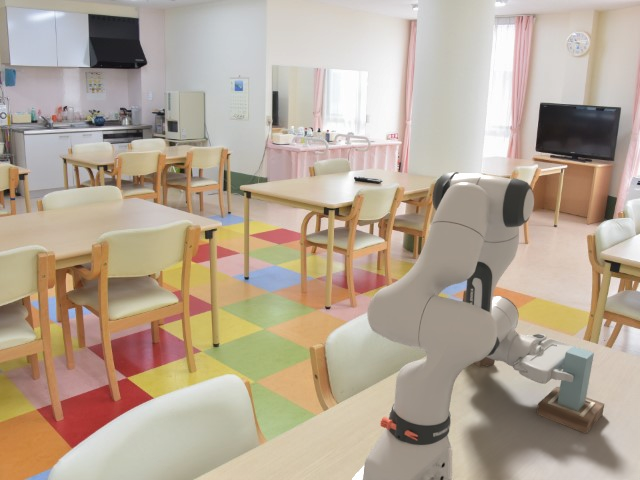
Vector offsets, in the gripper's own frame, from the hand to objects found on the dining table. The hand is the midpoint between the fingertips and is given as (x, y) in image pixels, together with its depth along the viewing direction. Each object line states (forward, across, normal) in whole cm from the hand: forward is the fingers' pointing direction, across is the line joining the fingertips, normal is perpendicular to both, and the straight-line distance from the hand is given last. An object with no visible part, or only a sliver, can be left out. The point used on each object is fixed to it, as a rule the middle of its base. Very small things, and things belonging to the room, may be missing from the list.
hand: (580, 372), depth 146 cm
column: (-1, 0, +9) cm, 9 cm away
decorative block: (-33, +11, +12) cm, 37 cm away
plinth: (-1, 0, +12) cm, 12 cm away
